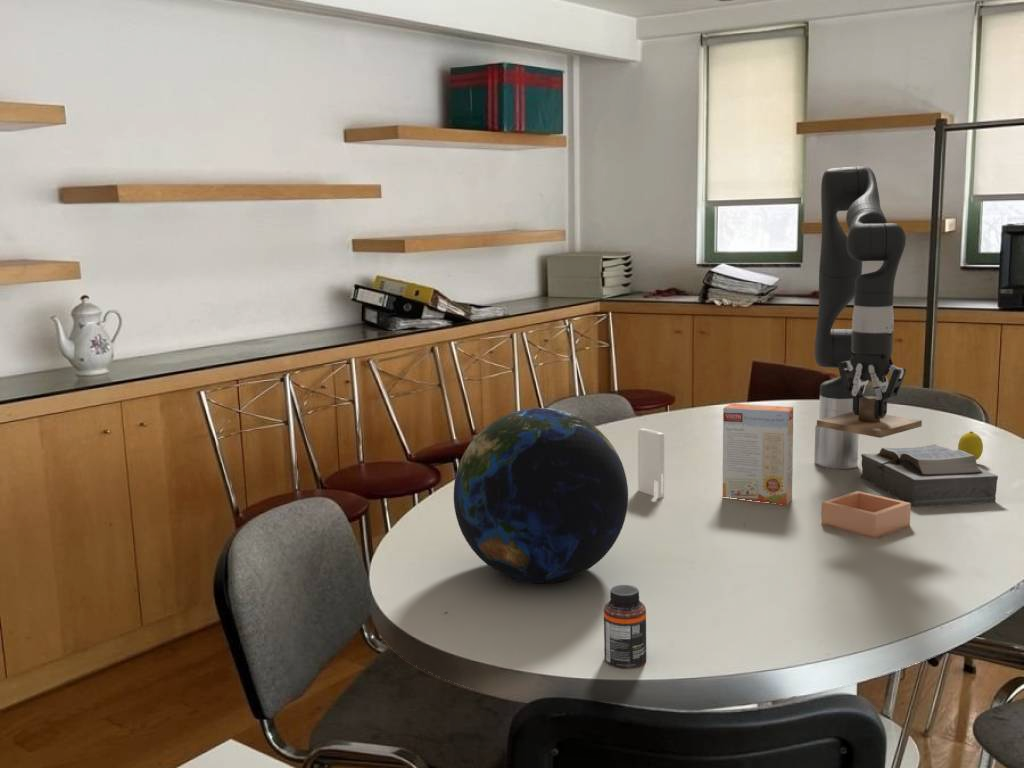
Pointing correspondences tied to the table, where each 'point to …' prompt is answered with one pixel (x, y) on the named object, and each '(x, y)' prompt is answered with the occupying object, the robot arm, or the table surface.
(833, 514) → the dish
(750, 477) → the cracker box
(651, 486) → the phone case
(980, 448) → the lemon
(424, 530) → the table surface
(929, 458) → the bible
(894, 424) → the lid
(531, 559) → the globe
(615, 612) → the supplement bottle
